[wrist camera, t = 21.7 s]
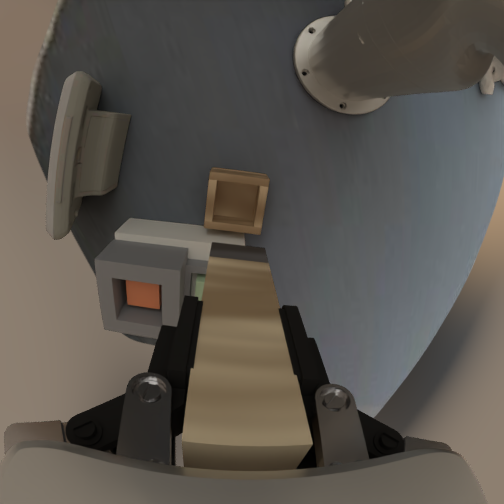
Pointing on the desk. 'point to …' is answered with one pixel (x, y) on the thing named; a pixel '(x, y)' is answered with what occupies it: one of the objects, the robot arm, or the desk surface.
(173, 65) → the desk surface
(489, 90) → the white creature statuette
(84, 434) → the robot arm
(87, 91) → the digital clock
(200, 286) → the on button
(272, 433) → the tall wooden block
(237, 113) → the desk surface
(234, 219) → the holder
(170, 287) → the push button control box
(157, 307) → the plunger
